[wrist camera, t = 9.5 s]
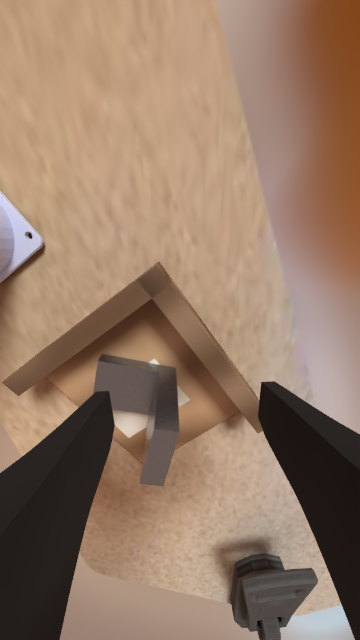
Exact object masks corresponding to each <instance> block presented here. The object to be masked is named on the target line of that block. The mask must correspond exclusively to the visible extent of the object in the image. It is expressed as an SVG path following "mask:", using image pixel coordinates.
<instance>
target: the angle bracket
mask: <svg viewBox="0 0 360 640" xmlns="http://www.w3.org/2000/svg"><path fill="white" fill-rule="evenodd" d="M98 391H109V393H110V399H111V405H112V409H114V410H121V411H127V412H133V413H139V414H145V415H148V423H147V431H146V438H145V446H144V454H143V462H142V469H141V477H140V484H149V485H157V486H163V484H164V481H165V478H166V475H167V472H168V468H169V465H170V462H171V459H172V456H173V452H174V449H175V446H176V443H177V440H178V436H179V433H180V429H179V411H178V392H177V374H176V368H174V367H169V366H164V365H159V364H153V363H148V362H143V361H138V360H132V359H127V358H122V357H117V356H112V355H106V354H102V355H101V357H100V358H99V360H98V363H97V370H96V377H95V384H94V391H93V394H94V393H95V392H98Z"/></svg>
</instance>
